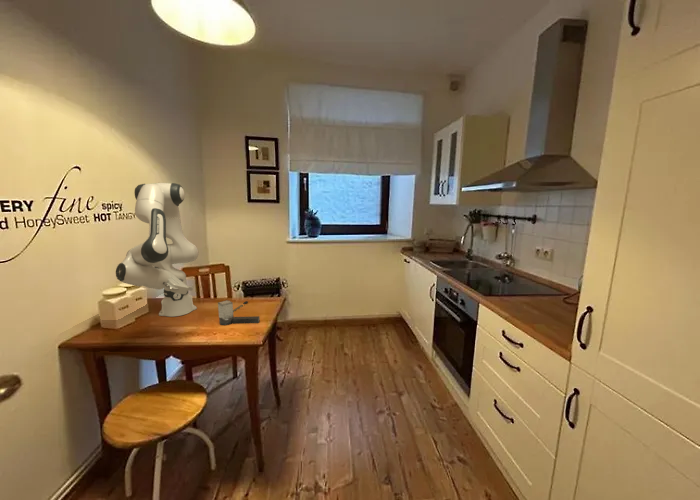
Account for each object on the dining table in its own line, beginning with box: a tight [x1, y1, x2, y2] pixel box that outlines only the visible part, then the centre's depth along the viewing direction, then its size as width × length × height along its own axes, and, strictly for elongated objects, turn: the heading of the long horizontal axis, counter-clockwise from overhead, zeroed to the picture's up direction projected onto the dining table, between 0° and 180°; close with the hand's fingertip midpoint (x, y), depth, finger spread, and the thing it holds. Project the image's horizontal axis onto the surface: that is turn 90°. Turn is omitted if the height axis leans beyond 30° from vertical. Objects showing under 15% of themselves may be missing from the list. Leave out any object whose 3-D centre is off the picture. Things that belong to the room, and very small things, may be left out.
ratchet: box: [218, 315, 260, 326], centre depth 160 cm, size 20×7×6 cm, turn 93°
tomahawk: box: [233, 300, 249, 313], centre depth 179 cm, size 21×7×1 cm, turn 166°
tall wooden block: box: [217, 299, 234, 320], centre depth 159 cm, size 5×5×8 cm
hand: (187, 284), depth 149 cm, fingers open, 8 cm apart
